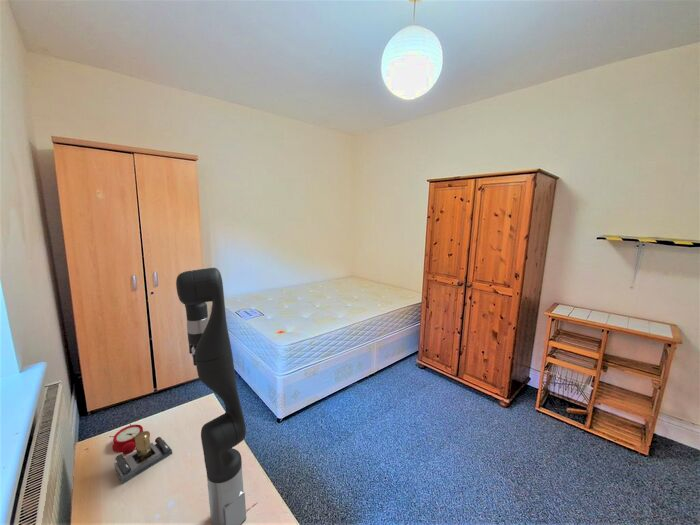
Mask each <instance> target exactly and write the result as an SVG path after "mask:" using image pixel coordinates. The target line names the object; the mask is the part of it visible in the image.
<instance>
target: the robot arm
mask: <svg viewBox="0 0 700 525" xmlns="http://www.w3.org/2000/svg"><path fill="white" fill-rule="evenodd" d="M223 285H224V283H223V278H222V274H221V272H220V270H219V269H218V268H216V267H208V268H207V267H206V268H200V269H199V268H198V269H192V270H186V271H184V272H183V271H182V272H181V273H179V274H177V277H176V281H175V288H176V294H177V297H178V299H179V301H180V302H181V304H182V305H184V308H185V313H186V316H185V317H186V332H187V342H188V350H189V352H188V353H189V354H190V355H191V357H192V361H193V366H196V371H197V372H196V373H197V376H198V379H199V380H200V381H201V382H202V384H204V385H205V386H206V387H207V388H208V389H210V390H211V391H213V393H215V394H216V395H217V396H218V397H219V398H220V399H221V400H222V402H223V404H224V408H225V413H223V414H220V415H219V416H217V417H215V418H213V419H211V420H209V421H207V422H206V423H204V424H203V425H202V427H201V432H200V438H201V445H202V451H203V452H202V453H203V457H204V458H203V460H204V465H205V472H206V481H207V491H208V502H209V510H210V511H209V512H210V513H209V514H210V522H211V525H239V524H240V525H242V524H243V523H244V522H245V521H246V520H247V507H246V493H245V491H244V480H243V479H244V478H243V465H242V463H243V461H242V459H243V458H242V455H241V452H240V451H239V450H238V449H237V448H236V449H235V448H234V447H236V446H238V445H239V444H240V443H242V442H243V441H244V440H245V438H246V434H247V430H246V421H245V417H244V414H243V408H242V405H241V400H240V397H239V392H238V386H237V380H236V373H235V364H234V357H233V356H234V355H233V352H232V345H231V341H230V336H229V335H230V334H229V329H228V328H229V327H228V324H227V315H226V305H225V304H226V303H225V294H224V286H223ZM208 302H209V303H210V302H211V303H212V304H211V313H210V316H209V314H208V312H209V311H208V305H207V303H208ZM245 519H246V520H245ZM244 520H245V521H244ZM243 521H244V522H243ZM242 522H243V523H242Z"/></svg>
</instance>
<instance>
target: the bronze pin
mask: <svg viewBox="0 0 700 525" xmlns="http://www.w3.org/2000/svg"><path fill="white" fill-rule="evenodd" d="M149 433H150V432H149V431H148V430H143V432H140V433H139V434H137V435H136V436H135V443H136V447H135V449H136V450H135V451H137V457H138V460H137V464H139V463H141V462H142V461H144V460H146V459H147V458H149V457H151V456H152V454H151V447H150V443H151V441H150V437H149Z"/></svg>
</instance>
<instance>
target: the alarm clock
mask: <svg viewBox="0 0 700 525" xmlns="http://www.w3.org/2000/svg"><path fill="white" fill-rule="evenodd" d="M143 431H144V428H143V426H142V425H140V424H132V423H130V424H129V425H128V426H126V427H124V428H121V429H120V430H119V431H117V432H116V433H115V434H114V435H113V436H111V435H110V436H109V438H112V440H113V441H112V442H113V443H112V447H111V448H112V451H113V452H114V453H121V454H122V455H130V454H132V453H133V451H137V450H136V443H135V436H136V435H137V434H139V433H140V432H143ZM150 435H151V433H150V432H149V438H151V436H150Z"/></svg>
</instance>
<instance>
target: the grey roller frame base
mask: <svg viewBox="0 0 700 525" xmlns="http://www.w3.org/2000/svg"><path fill="white" fill-rule="evenodd" d="M154 443H155V444H154ZM154 443H153V442H150V447H151V455H152V456H151V457H149V458H147V459H146V460H144V461H142V462H141V463H139V464H138V457H137V450H135V451H134V452H131V453H129V454H128V455H126V456H124V454H123V453H121V454H118V455H117V456H116V457H115V461H116V462H115V463H113V465H114V471H115V473H116V475H117V476H118V479H119V480H120V482H121V484H125V483H126V482H128V481H130V480H131V479H133V478H135V477H136V476H138V475H140V474H141V473H143V472H145V471H146V470H148V469H150V468H151V467H153V466H154V465H156V464H158V463H159V462H161V461H163V460H164V459H166V458H168V457H169V456H171V455H172V454H173V449H172V448H171V447H170V445H169V444H167V442H166V441H165V440H164V439H162V437H161V436H158V437H156V438H155V441H154Z"/></svg>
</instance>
